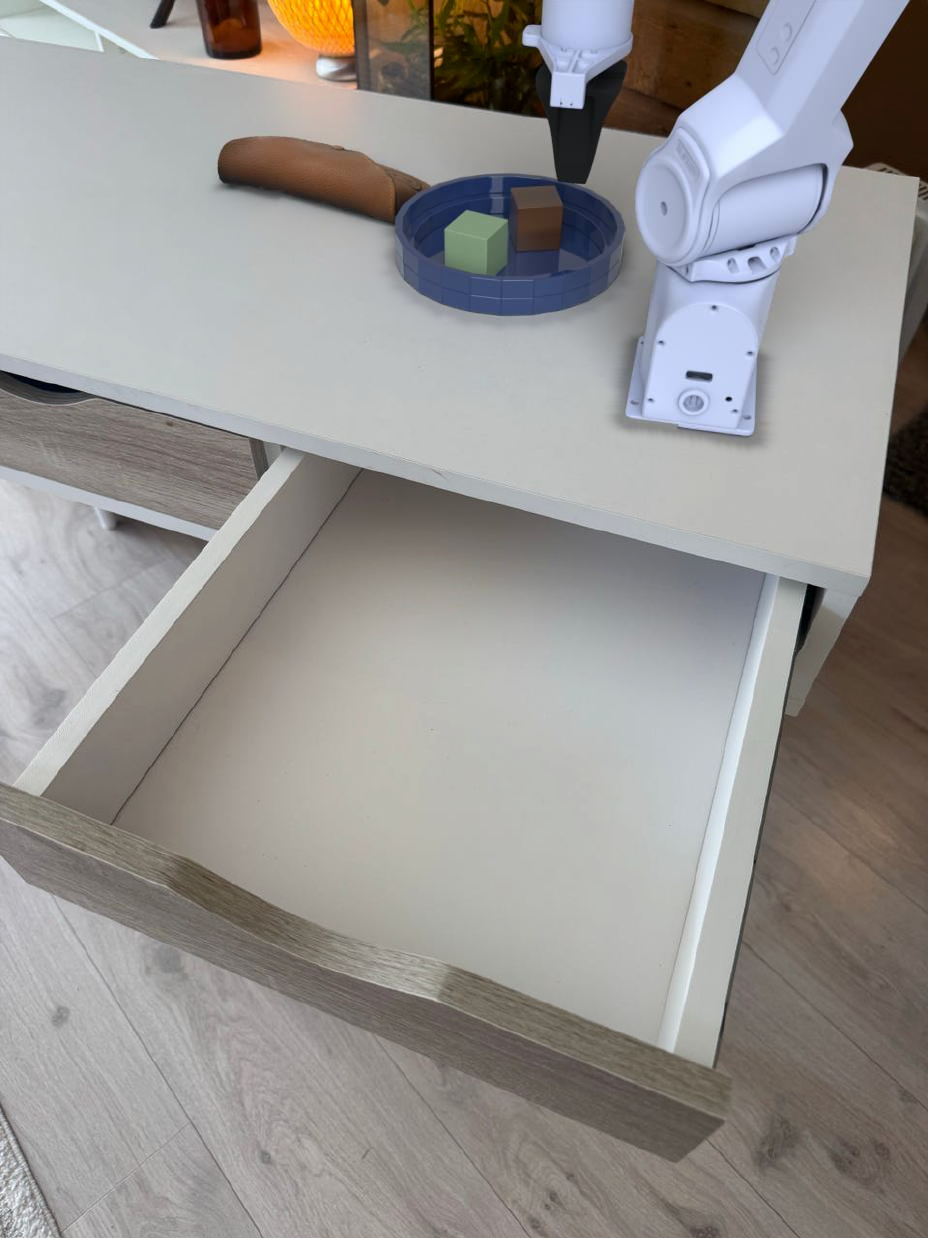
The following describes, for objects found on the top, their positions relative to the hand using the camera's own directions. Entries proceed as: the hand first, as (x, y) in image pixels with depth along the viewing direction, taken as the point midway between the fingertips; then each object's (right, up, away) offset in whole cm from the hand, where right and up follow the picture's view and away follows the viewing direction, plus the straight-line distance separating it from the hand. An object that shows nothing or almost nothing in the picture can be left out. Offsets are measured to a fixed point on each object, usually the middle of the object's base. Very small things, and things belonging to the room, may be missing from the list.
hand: (572, 179), depth 67 cm
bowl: (-4, -4, +6) cm, 8 cm away
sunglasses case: (-19, +5, +14) cm, 24 cm away
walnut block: (-2, -2, +7) cm, 8 cm away
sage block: (-7, -5, +4) cm, 9 cm away
